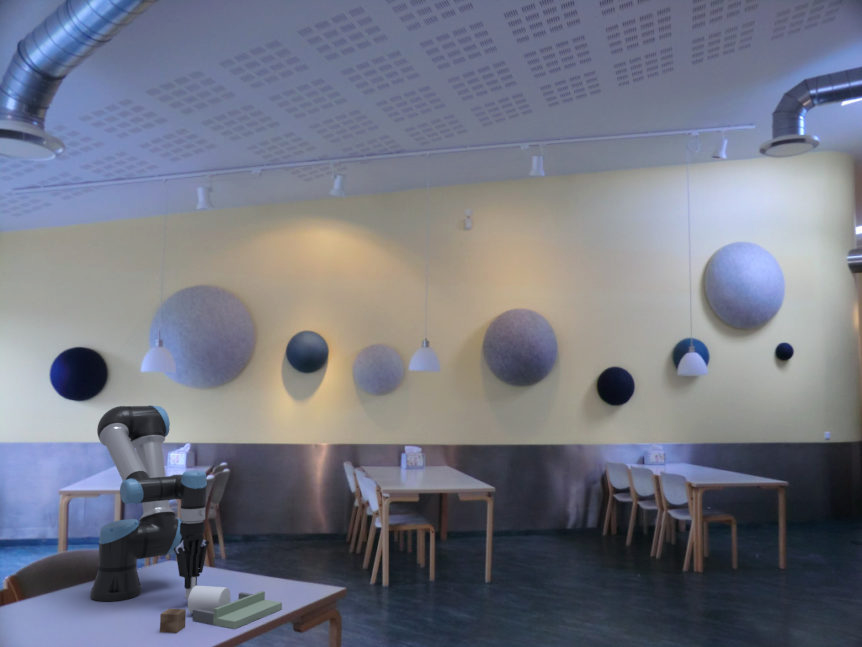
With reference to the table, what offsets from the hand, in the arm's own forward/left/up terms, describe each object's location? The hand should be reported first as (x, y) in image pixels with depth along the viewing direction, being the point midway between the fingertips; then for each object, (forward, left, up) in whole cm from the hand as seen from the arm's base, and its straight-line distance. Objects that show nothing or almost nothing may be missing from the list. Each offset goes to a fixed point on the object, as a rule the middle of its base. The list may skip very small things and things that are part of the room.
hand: (190, 598), depth 225 cm
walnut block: (+12, -19, -2) cm, 23 cm away
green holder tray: (+19, 0, -2) cm, 19 cm away
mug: (+11, -1, -3) cm, 11 cm away
